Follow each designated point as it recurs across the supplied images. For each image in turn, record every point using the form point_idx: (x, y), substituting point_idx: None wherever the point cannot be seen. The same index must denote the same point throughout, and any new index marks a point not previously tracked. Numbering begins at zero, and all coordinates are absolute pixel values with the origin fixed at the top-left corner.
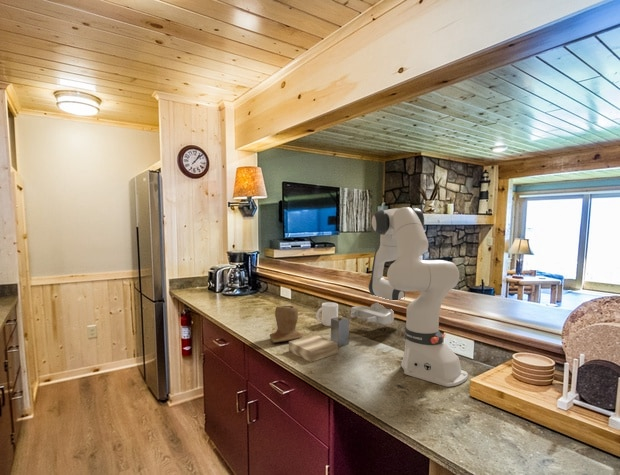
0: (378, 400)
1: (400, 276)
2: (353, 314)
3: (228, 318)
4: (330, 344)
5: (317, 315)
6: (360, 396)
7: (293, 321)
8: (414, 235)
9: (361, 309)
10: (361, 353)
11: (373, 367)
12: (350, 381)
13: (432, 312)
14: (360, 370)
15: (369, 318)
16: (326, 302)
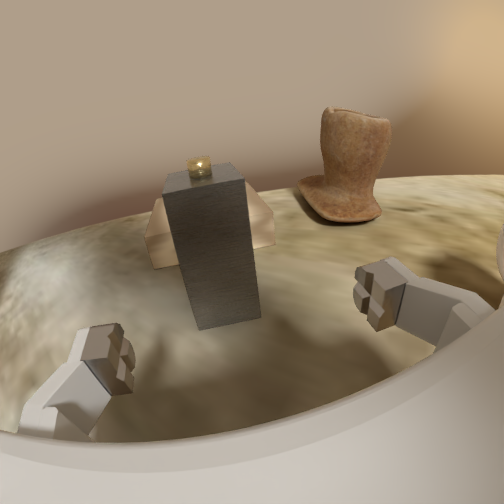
0: (12, 259)
1: None
2: (364, 282)
3: (477, 181)
4: (154, 224)
5: (499, 234)
6: (32, 248)
7: (327, 156)
8: None
9: (493, 366)
10: (91, 320)
11: (32, 297)
12: (55, 250)
13: None
14: (53, 273)
15: (76, 342)
16: None
